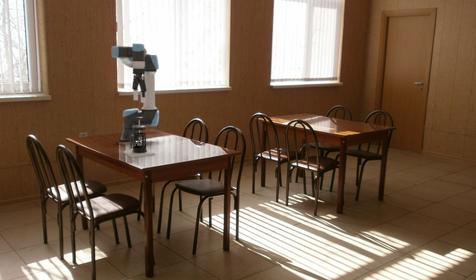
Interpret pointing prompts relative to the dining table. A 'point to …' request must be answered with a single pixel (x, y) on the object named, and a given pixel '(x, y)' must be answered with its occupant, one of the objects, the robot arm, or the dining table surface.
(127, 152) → the ceramic tile
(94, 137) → the dining table surface
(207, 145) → the dining table surface
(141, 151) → the french press
